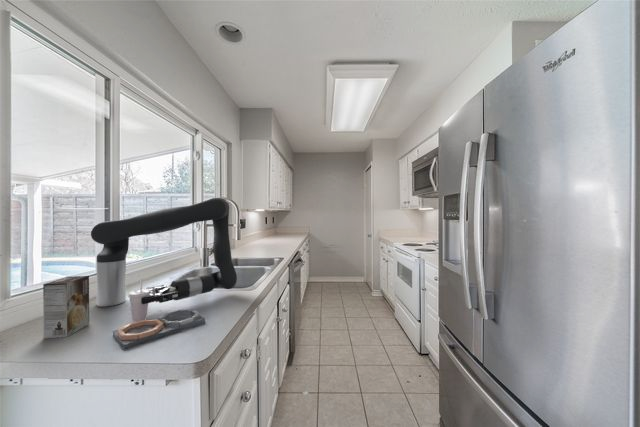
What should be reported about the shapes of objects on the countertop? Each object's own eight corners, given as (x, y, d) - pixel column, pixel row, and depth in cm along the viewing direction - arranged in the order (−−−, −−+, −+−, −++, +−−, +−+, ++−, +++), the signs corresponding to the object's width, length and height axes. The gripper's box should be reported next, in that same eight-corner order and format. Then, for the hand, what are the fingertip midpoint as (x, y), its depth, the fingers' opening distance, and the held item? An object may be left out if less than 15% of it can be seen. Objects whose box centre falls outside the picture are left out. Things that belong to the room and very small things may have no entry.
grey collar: (156, 320, 84) (156, 316, 84) (189, 310, 93) (189, 307, 93) (169, 329, 78) (169, 325, 78) (203, 318, 86) (203, 314, 86)
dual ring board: (112, 336, 76) (112, 331, 76) (189, 314, 93) (189, 310, 93) (124, 350, 69) (124, 344, 69) (205, 323, 86) (205, 318, 86)
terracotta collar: (114, 331, 76) (114, 327, 76) (154, 320, 84) (154, 316, 84) (124, 343, 69) (124, 339, 69) (167, 329, 77) (167, 325, 77)
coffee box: (67, 325, 84) (67, 276, 84) (89, 324, 85) (90, 275, 85) (42, 339, 75) (42, 283, 75) (67, 337, 76) (67, 282, 76)
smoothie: (139, 324, 85) (139, 281, 85) (123, 322, 86) (123, 280, 86) (155, 316, 91) (155, 277, 91) (140, 315, 92) (140, 276, 92)
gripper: (179, 275, 105) (131, 283, 92) (195, 281, 96) (144, 291, 83) (178, 293, 105) (131, 304, 92) (195, 301, 96) (144, 314, 83)
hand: (137, 298), depth 88 cm, fingers open, 8 cm apart
